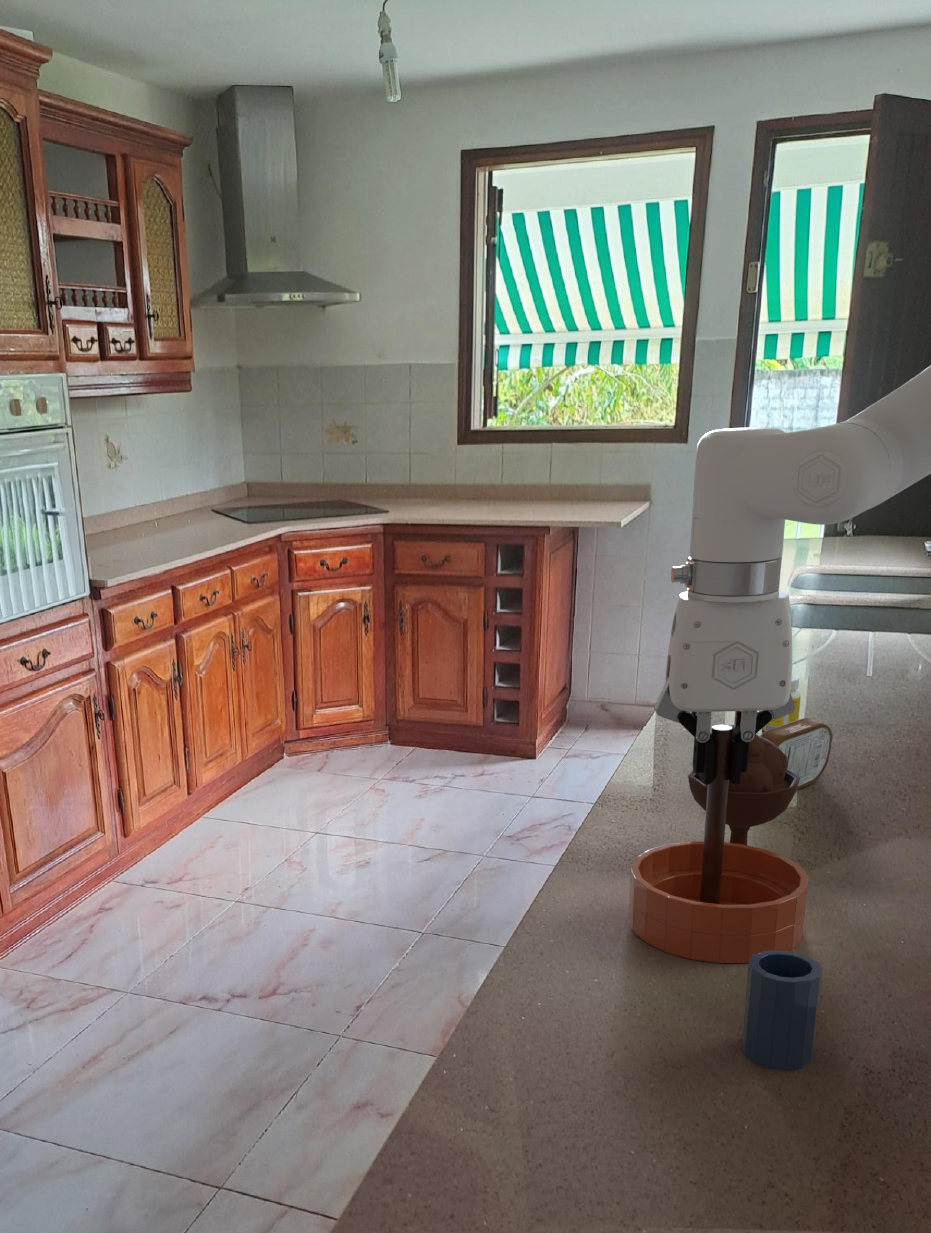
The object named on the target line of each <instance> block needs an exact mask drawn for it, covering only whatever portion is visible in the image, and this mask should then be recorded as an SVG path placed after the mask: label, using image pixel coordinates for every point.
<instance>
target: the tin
mask: <svg viewBox="0 0 931 1233" xmlns="http://www.w3.org/2000/svg"><path fill="white" fill-rule="evenodd" d="M759 736H761V737H763V738H765V739H767V740H769V741H771V742H773V743H774V744H775V745H776V746H777V747H778V748H779V749H780V750H781V751H782V752H783V753H784V754H785V755H786V756H787V769H788V770H789V771H791V772H792V773H794V774H796V775H797V776H799V777H801V778H800V781H799V784H798V787H797V790H796V791H798V790H801V789H802V788H805V787H808V786H810V785H812V784H814V783H815V782H816V781H818V779H819V778H820V777H821V775H822V774H823V773H824V771H825V770H826V768H827V766H828V763H829V760H830V759H829V758H830V753H831V750H832V743H833V742H832V741H833V736H834V735H833V732H832V729H831V728H830V727H829V725H827V724H826V723H825V722H820V721H818V720H814V719H812V718H810V717H803V718H799V720H796V721H793V722H790V723H787V724H785V725H781V726H778V727H775V728H772V729H769V730H767V731H765V732H764V733H763V734H762V733H761V734H760V735H759Z"/></svg>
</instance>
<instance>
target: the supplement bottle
mask: <svg viewBox="0 0 931 1233" xmlns="http://www.w3.org/2000/svg"><path fill="white" fill-rule="evenodd" d="M799 683H800V678H799V677H797V676H796V675H792V679H791V691H790V693H791V696H792V699H793V702H794V705H795V711H794V712H793V713H791V714H788V715H786V716H783V717H780V718H778V719H774V720H771V721H770V722H769V723H768V724H767V725H765V726H764V727H763V728H762V729H761V735H762V734H763V733H764V732H765V731H767V730H769V729H772V728H775V727H778V726H781V725H785V724H787V723H790V722H793V721H796V720H800V708H801V707H800V706H801V697H802V696H801V693H800V691H799V690H798V689H799Z"/></svg>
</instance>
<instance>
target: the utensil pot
mask: <svg viewBox="0 0 931 1233" xmlns="http://www.w3.org/2000/svg"><path fill="white" fill-rule="evenodd" d="M823 972H824V970H823V968H822V965H821V964H820V963H819V962H818V961H817V960H815V959H814V958H812V957H810V956H808V955H806V954H803V953H799V952H797V951H793V950H792V951H783V950H771V951H763V952H760V953H757V954H755V955H753V956H752V957H751V959H750V961H749V963H748V967H747V979H746V988H745V989H746V990H745V1000H744V1012H743V1024H742V1035H741V1036H742V1037H741V1049H742V1050H741V1051H742V1053H743V1054H744V1056H745V1057H746V1058H747V1059H748V1060H750V1062H752V1063H754V1064H756V1065H757V1066H761V1067H762V1068H763V1067H764V1068H767V1069H771V1070H775V1071H795V1070H799V1069H803V1068H806V1067H808V1066H809V1065H810V1064H811V1062H812V1060H813V1057H814V1051H815V1042H816V1034H817V1033H816V1032H817V1024H818V1017H819V1016H818V1014H819V1006H820V998H821V988H822V979H823Z"/></svg>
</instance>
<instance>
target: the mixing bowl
mask: <svg viewBox="0 0 931 1233" xmlns="http://www.w3.org/2000/svg"><path fill="white" fill-rule="evenodd" d="M747 845H748V844H747ZM747 845H743V844H736V843H730V842H726V841H724V849H723V862H722V875H721V888H720V901H719V904H713V903H704V902H700V888H701V874H702V860H703V846H704V840H701V841H700V840H699V841H683V842H675V843H668V844H664V845H663V844H662V845H660V846H657V847H654V848H650V849H648V850H646V851H644V852H643V853H641V854H640V855H638V856H637V857H635V858H634V861H633V862H632V865H631V867H630V876H629V877H630V879H629V900H628V901H629V903H628V922H629V925H630V928H631V930H632V932H633V933H635V935H636V936H638V938H640V939H641V940H642V941H643V942H645V943H646V944H648V945H650V946H652V947H654V948H656V949H658V950H660V951H663V952H665V953H668V954H670V955H674V956H677V957H682V958H685V959H687V960H694V961H701V962H707V963H715V964H749V961H750V959H751V957H752V956H753V955H755V954H757V953H760V952H763V951H771V950H783V951H792V952H793V951H794V950H795V948H797V947H798V945H800V944H801V943H802V941H803V935H804V925H805V916H806V907H807V897H808V889H809V888H808V887H809V876H808V874H807V873H806V872H805V870H804V869H803V867H802V866H801V865H799V864H798V863H796V862H795V861H793V860H791V859H789V858H788V857H786V856H784V855H781V854H778V853H776V852H773V851H770V850H768V849H764V848H762V847H761V848H760V847H756V846H751V845H748V846H747Z"/></svg>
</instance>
